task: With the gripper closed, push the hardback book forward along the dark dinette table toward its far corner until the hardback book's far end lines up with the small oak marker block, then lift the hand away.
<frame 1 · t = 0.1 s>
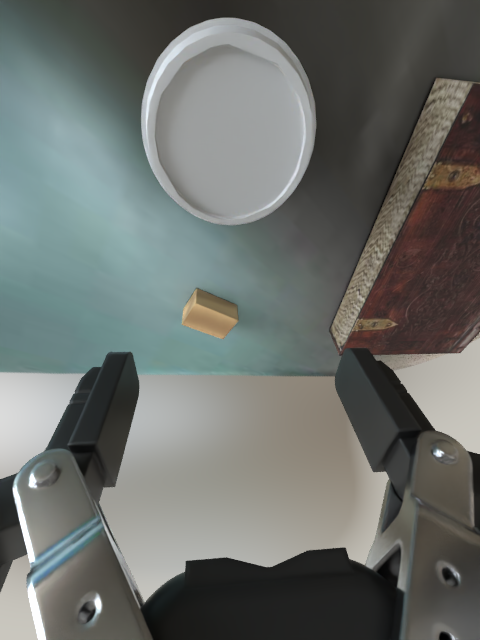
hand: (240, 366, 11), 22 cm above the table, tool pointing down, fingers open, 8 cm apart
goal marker: (210, 307, 38), on the table
hardback book: (439, 243, 34), on the table
disposable coffee cup: (223, 110, 24), on the table
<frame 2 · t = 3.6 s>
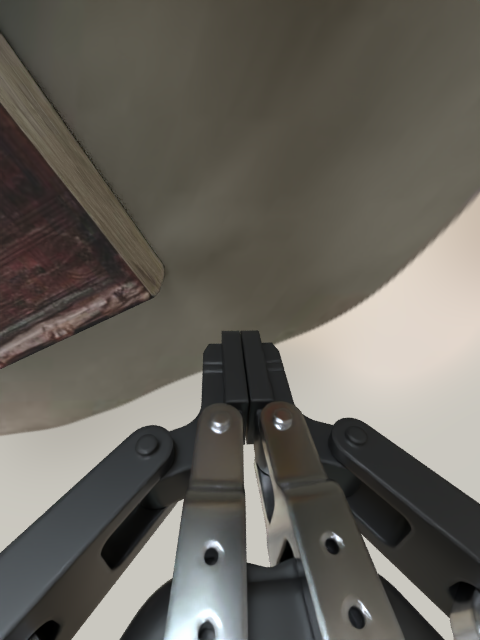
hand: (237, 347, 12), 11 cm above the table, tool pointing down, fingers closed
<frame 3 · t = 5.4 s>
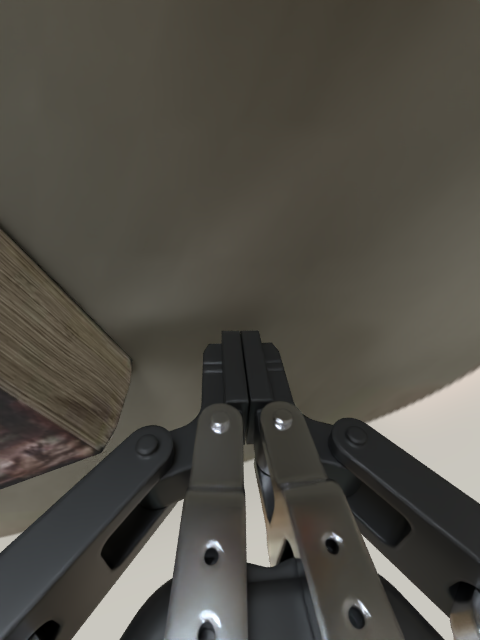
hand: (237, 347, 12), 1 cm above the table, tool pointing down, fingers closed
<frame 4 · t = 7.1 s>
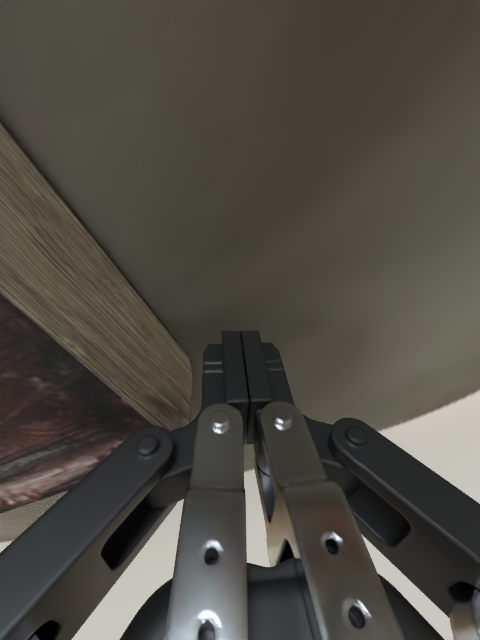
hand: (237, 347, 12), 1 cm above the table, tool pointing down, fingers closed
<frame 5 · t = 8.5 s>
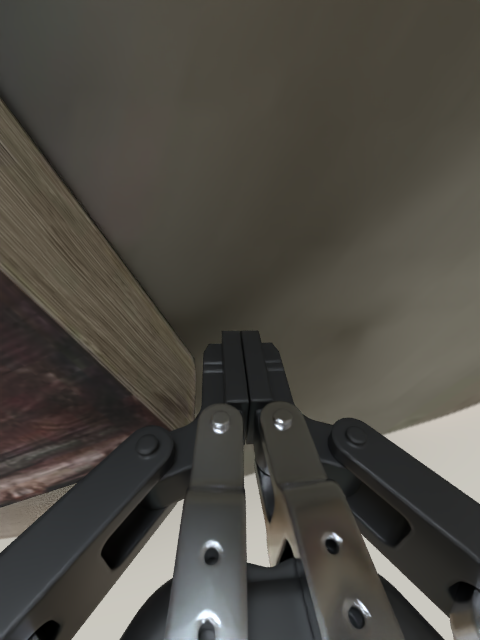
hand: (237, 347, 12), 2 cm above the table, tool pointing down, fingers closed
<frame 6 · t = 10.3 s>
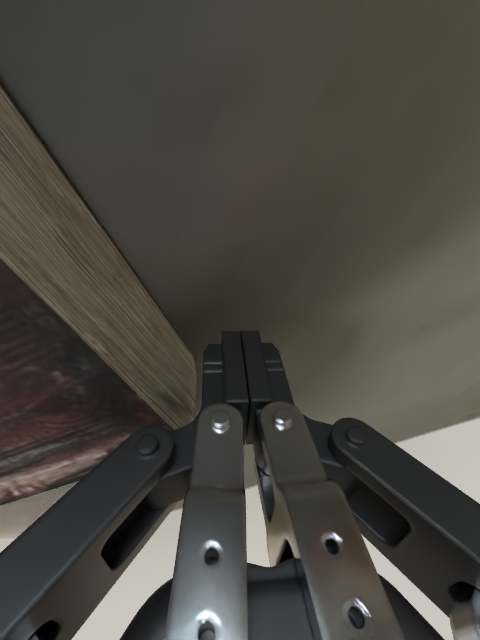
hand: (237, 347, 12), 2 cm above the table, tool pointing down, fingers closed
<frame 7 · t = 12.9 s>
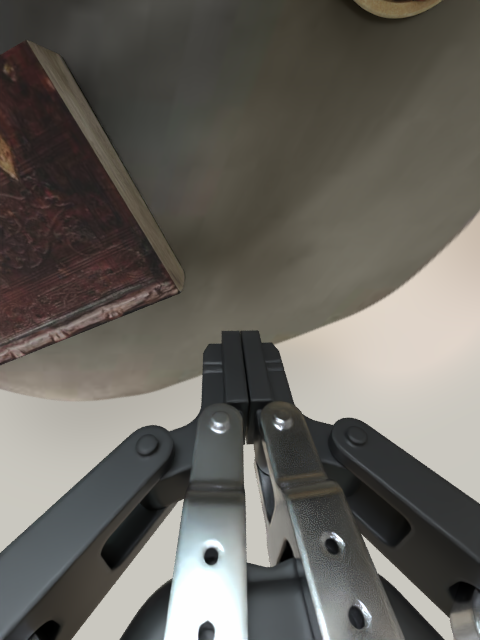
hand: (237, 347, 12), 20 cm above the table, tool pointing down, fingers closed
hardback book: (6, 247, 28), on the table
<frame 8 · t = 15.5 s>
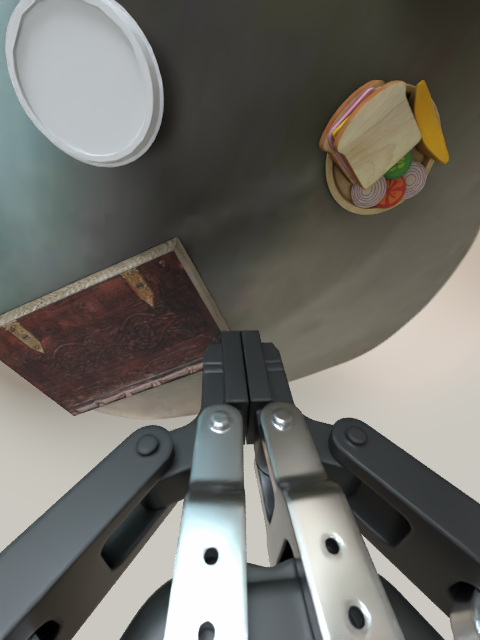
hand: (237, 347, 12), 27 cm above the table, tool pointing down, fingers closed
hardback book: (124, 328, 44), on the table
toy sandwich meal: (371, 153, 33), on the table
disposable coffee cup: (128, 95, 28), on the table
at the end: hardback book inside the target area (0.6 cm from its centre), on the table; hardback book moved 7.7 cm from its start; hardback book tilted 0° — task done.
